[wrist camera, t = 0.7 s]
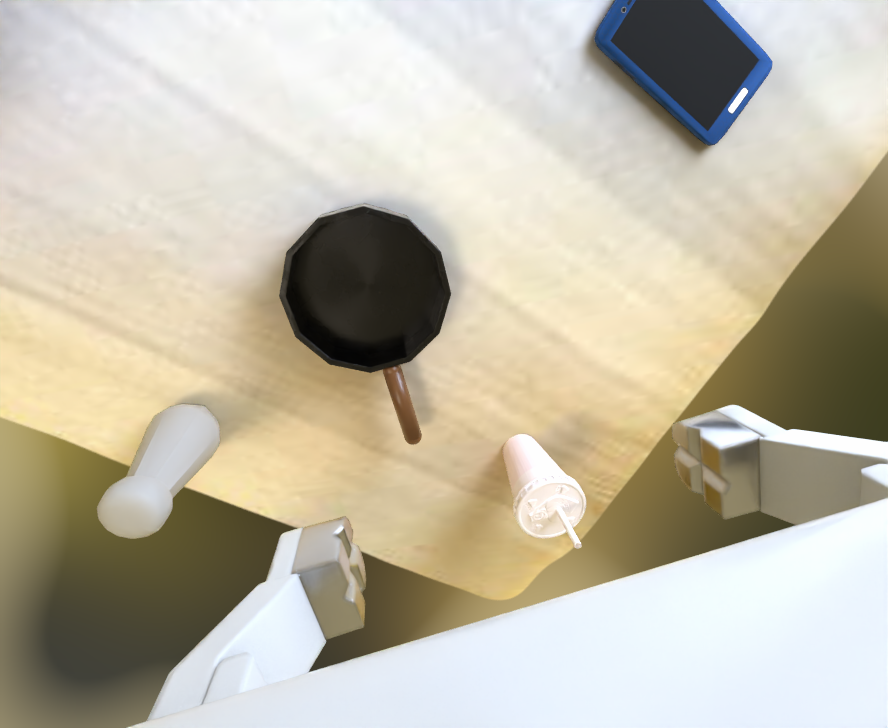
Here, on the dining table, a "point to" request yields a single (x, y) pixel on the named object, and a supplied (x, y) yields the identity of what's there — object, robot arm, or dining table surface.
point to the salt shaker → (160, 470)
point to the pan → (367, 295)
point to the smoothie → (542, 491)
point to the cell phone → (686, 59)
